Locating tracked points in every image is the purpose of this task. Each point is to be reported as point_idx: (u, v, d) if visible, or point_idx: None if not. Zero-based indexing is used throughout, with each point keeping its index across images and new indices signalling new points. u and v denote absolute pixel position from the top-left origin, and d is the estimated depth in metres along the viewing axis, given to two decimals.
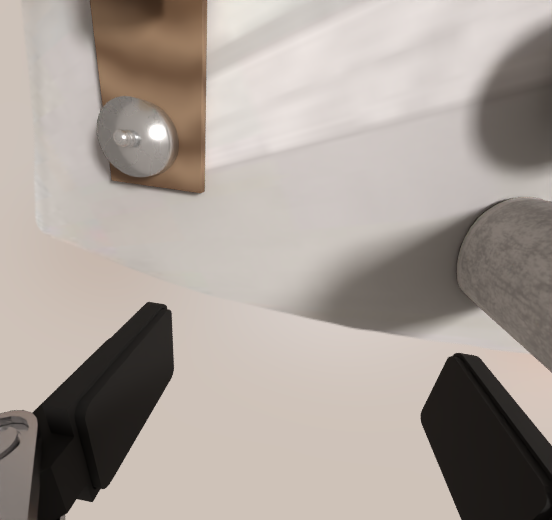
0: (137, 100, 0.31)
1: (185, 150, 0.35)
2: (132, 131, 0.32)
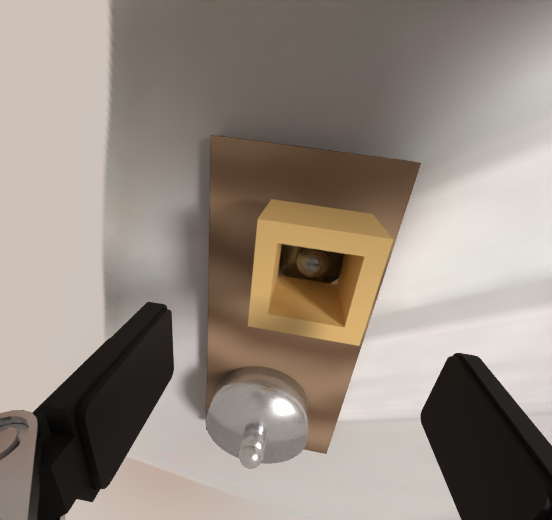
0: (272, 400, 0.22)
1: (314, 416, 0.26)
2: (260, 433, 0.22)
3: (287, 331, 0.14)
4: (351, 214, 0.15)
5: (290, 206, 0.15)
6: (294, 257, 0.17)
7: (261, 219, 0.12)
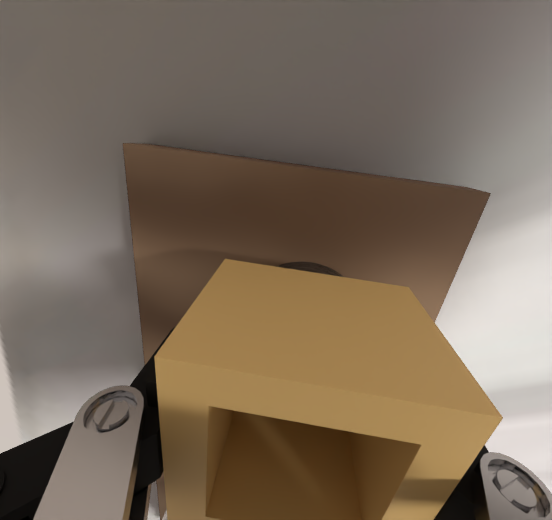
0: None
1: None
2: None
3: None
4: (373, 295, 0.08)
5: (255, 281, 0.08)
6: None
7: (164, 357, 0.05)
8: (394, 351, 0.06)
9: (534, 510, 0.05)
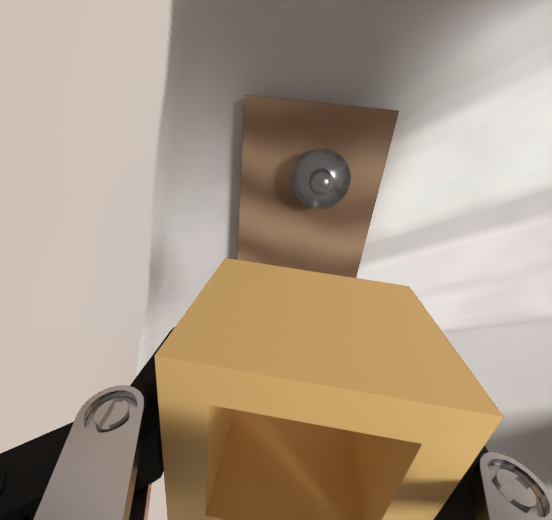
0: None
1: None
2: None
3: None
4: (373, 295, 0.08)
5: (255, 280, 0.08)
6: (307, 184, 0.23)
7: (164, 355, 0.05)
8: (394, 350, 0.06)
9: (534, 510, 0.05)
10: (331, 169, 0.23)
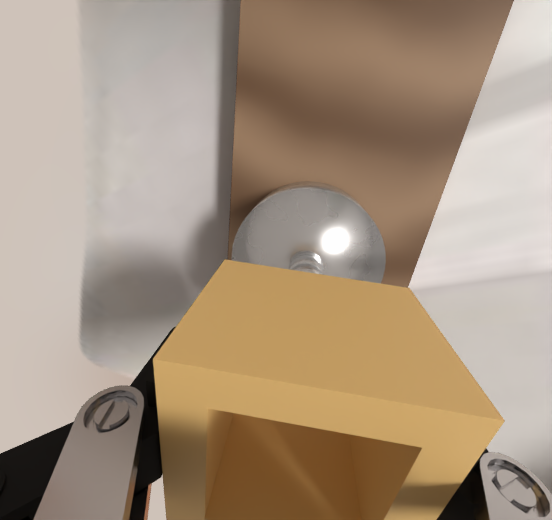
0: (338, 197, 0.14)
1: None
2: (317, 259, 0.15)
3: None
4: (373, 297, 0.08)
5: (255, 282, 0.08)
6: None
7: (163, 359, 0.05)
8: (395, 353, 0.06)
9: (534, 510, 0.05)
10: None
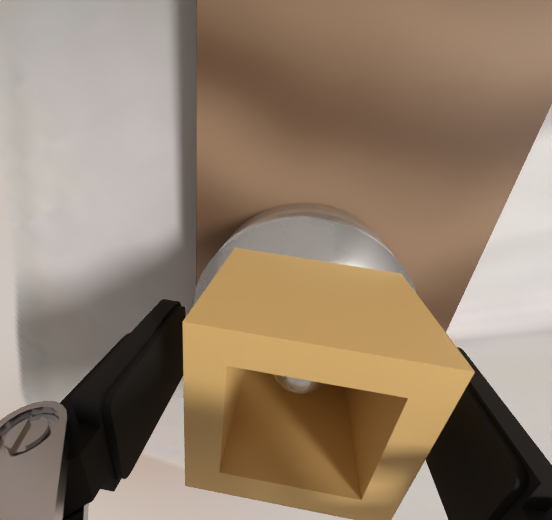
0: (350, 234, 0.09)
1: None
2: None
3: (257, 498, 0.08)
4: (369, 280, 0.09)
5: (263, 266, 0.09)
6: None
7: (191, 322, 0.06)
8: (386, 322, 0.07)
9: None
10: None
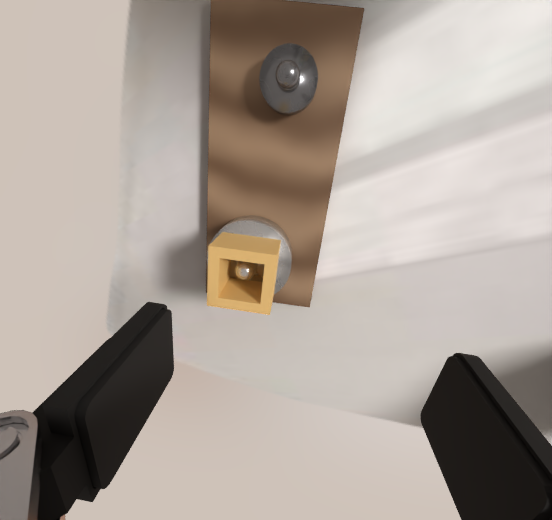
0: (261, 226, 0.27)
1: (298, 265, 0.31)
2: None
3: (229, 307, 0.25)
4: (266, 240, 0.26)
5: (231, 236, 0.26)
6: (275, 84, 0.23)
7: (210, 245, 0.23)
8: (262, 248, 0.24)
9: None
10: (298, 66, 0.22)
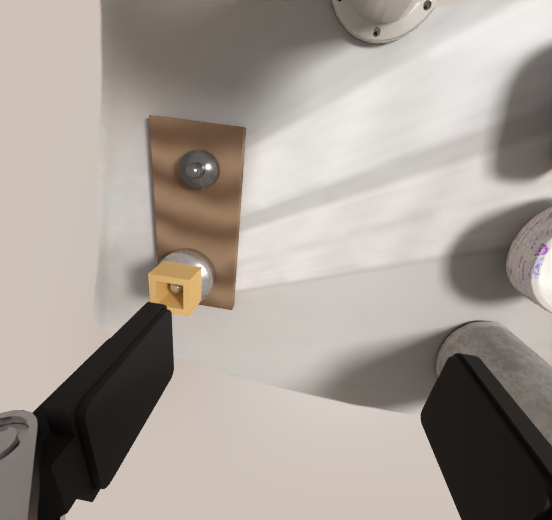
0: (188, 258, 0.41)
1: (220, 281, 0.45)
2: None
3: None
4: (190, 268, 0.40)
5: (167, 265, 0.40)
6: None
7: (149, 273, 0.37)
8: (183, 274, 0.38)
9: None
10: (203, 163, 0.36)
